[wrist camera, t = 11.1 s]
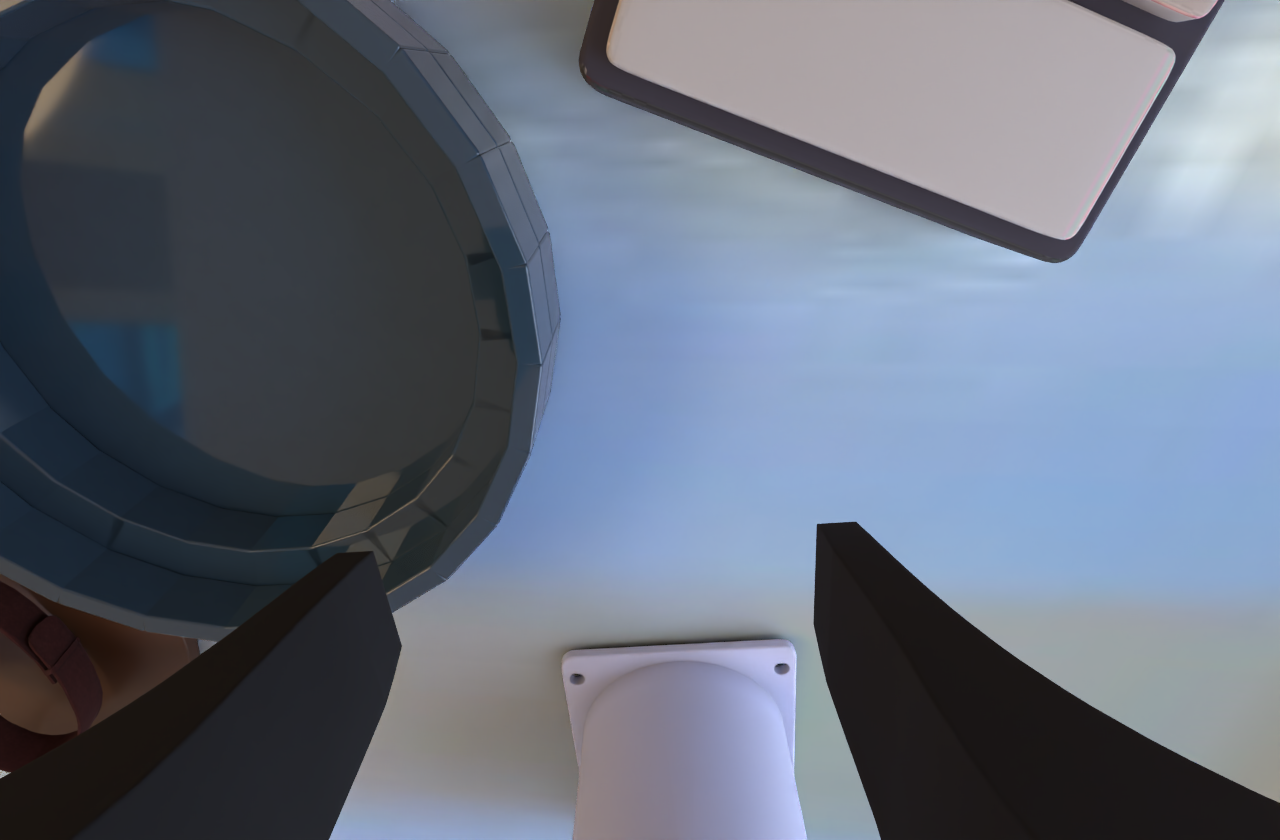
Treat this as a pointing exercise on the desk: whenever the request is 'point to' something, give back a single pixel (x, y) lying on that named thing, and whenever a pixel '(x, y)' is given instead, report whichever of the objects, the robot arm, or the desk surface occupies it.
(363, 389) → the bowl
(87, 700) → the watch
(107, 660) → the coaster
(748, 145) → the calculator
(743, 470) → the desk surface
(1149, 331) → the desk surface
